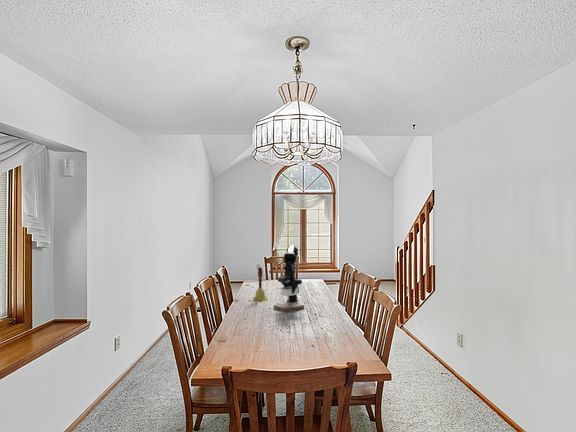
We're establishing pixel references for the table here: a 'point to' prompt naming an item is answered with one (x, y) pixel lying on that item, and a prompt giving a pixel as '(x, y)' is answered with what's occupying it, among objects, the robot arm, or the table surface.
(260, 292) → the handbell
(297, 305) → the walnut stand
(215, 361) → the table surface
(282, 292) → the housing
